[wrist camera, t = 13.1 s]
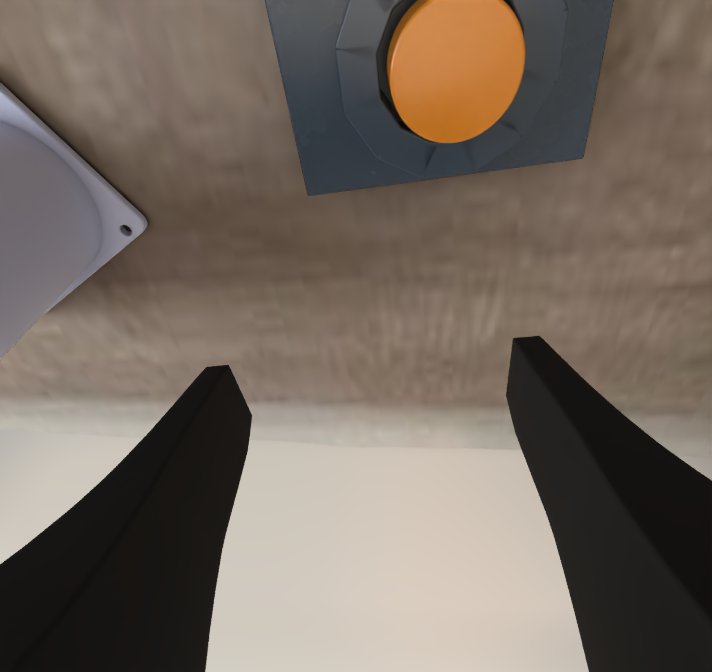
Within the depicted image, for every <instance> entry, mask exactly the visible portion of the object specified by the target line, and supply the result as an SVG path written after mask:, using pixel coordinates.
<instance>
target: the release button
mask: <svg viewBox="0 0 712 672" xmlns="http://www.w3.org/2000/svg"><path fill="white" fill-rule="evenodd" d="M524 66H525V40H524V36H523V31H522V28H521V25H520V23H519V20H518V19H517V17H516V15H515V13H514V12H513V10H512V9H511V8H510V6H509V5H508V4H507V3H506V2H505V1H504V0H418V1H417V2H415V3H414V4H413V5H412V6H411V7H410V8H409V9H408V10H407V12H406V13H405V14H404V16H403V17H402V18H401V20H400V22H399V24H398V25H397V27H396V29H395V31H394V34H393V36H392V39H391V42H390V45H389V50H388V56H387V77H388V84H389V87H390V91H391V95H392V99H393V102H394V105H395V107H396V110H397V112H398V113H399V115H400V117H401V119H402V120H403V121H404V123H405V124H406V125H407V126H408V127H409V128H410V129H411V130H412V131H413V132H415V133H416V134H417V135H419V136H421V137H423V138H425V139H427V140H430V141H433V142H438V143H457V142H462V141H466V140H468V139H471V138H474V137H476V136H478V135H480V134H481V133H483V132H484V131H486V130H487V129H489V128H490V127H491V126H492V125H493V124H495V123H496V122H497V121H498V120H499V119H500V118H501V116H502V115H503V114H504V113H505V111H506V110H507V109H508V107H509V106H510V104H511V103H512V101H513V99H514V97H515V95H516V93H517V91H518V88H519V86H520V83H521V80H522V76H523V72H524Z"/></svg>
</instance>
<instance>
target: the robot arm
mask: <svg viewBox="0 0 712 672" xmlns="http://www.w3.org/2000/svg"><path fill="white" fill-rule="evenodd" d="M123 225H127V226H128V227H130V229H131V230H132V232H130V231H127V230H126V229H125V228H124V226H123ZM146 227H147V220H146V218H145V217H144V216H143V215H142V214H141V213H140V212H139V211H138V210H137V209H136V208H135V207H134V206H133V205H132V204H131V203H130V202H128V201H127V200H126V199H125V198H124V197H123V196H122V195H121V194H120V193H119V192H118V191H117V190H116V189H114V188H113V187H112V186H111V185H110V184H109V183H108V182H107V181H106V180H105V179H104V178H103V177H102V176H100V175H99V174H98V173H97V172H96V171H95V170H94V169H93V168H92V167H91V166H90V165H89V164H88V163H86V162H85V161H84V160H83V159H82V158H81V157H80V156H79V155H78V154H77V153H76V152H75V151H74V150H72V149H71V148H70V147H69V146H68V145H67V144H66V143H65V142H64V141H63V140H62V139H61V138H60V137H58V136H57V135H56V134H55V133H54V132H53V131H52V130H51V129H50V128H49V127H48V126H47V125H46V124H44V123H43V122H42V121H41V120H40V119H39V118H38V117H37V116H36V115H35V114H34V113H33V112H32V111H31V110H29V109H28V108H27V107H26V106H25V105H24V104H23V103H22V102H21V101H20V100H19V99H18V98H17V97H15V96H14V95H13V94H12V93H11V92H10V91H9V90H8V89H7V88H6V87H5V86H4V85H3V84H1V83H0V360H1V359H2V358H3V356H4V355H5V354H6V353H7V352H8V351H9V350H10V349H11V348H12V347H13V346H14V345H15V344H16V343H17V341H18V340H19V339H20V338H21V337H22V336H23V335H24V334H25V333H26V332H27V331H28V330H29V329H30V328H31V327H32V325H33V324H34V323H35V322H36V321H37V320H38V319H39V318H41V317H42V316H43V315H44V314H45V313H47V312H48V311H49V310H50V309H51V308H53V307H54V306H55V305H56V304H57V303H59V302H60V301H61V300H62V299H63V298H65V297H66V296H67V295H68V294H69V293H71V292H72V291H73V290H74V289H75V288H77V287H78V286H79V285H80V284H81V283H83V282H84V281H85V280H86V279H87V278H89V277H90V276H91V275H92V274H93V273H95V272H96V271H97V270H98V269H99V268H101V267H102V266H103V265H104V264H105V263H107V262H108V261H109V260H110V259H111V258H113V257H114V256H115V255H116V254H117V253H119V252H120V251H121V250H122V249H123V248H125V247H126V246H127V245H128V244H129V243H131V242H132V241H133V240H134V239H135V238H137V237H138V236H139V235H140V234H141V233H143V231H144V230H145V229H146ZM506 397H507V401H508V405H509V409H510V414H511V418H512V421H513V425H514V429H515V433H516V436H517V438H518V441H519V444H520V446H521V449H522V452H523V454H524V457H525V459H526V462H527V465H528V467H529V470H530V472H531V475H532V478H533V480H534V483H535V485H536V488H537V491H538V493H539V496H540V498H541V501H542V503H543V506H544V509H545V511H546V514H547V517H548V520H549V523H550V526H551V529H552V532H553V534H554V538H555V542H556V545H557V549H558V552H559V556H560V560H561V563H562V567H563V570H564V574H565V578H566V582H567V585H568V589H569V593H570V597H571V600H572V604H573V608H574V612H575V616H576V620H577V624H578V628H579V632H580V636H581V640H582V645H583V649H584V653H585V657H586V661H587V665H588V669H589V672H712V481H711V480H710V479H708V478H707V477H705V476H704V475H702V474H701V473H700V472H698V471H697V470H695V469H694V468H692V467H691V466H690V465H688V464H687V463H685V462H684V461H683V460H681V459H679V458H678V457H677V456H676V455H674V454H673V453H671V452H670V451H669V450H667V449H666V448H664V447H663V446H662V445H661V444H659V443H658V442H657V441H655V440H654V439H653V438H651V437H650V436H649V435H648V434H646V433H645V432H644V431H643V430H641V429H640V428H639V427H638V426H637V425H635V424H634V423H633V422H632V421H630V420H629V419H628V418H627V417H626V416H624V415H623V414H622V413H621V412H620V411H619V410H617V409H616V408H615V407H614V406H613V405H612V404H610V403H609V402H608V401H607V400H606V399H605V398H604V397H603V396H602V395H600V394H599V393H598V392H597V391H596V390H595V389H594V388H593V387H592V386H591V385H589V384H588V383H587V382H586V381H585V380H584V379H583V378H582V377H581V376H580V375H579V374H578V373H577V372H576V371H575V370H574V369H573V368H572V367H571V366H570V365H569V364H568V363H566V362H565V361H564V360H563V359H562V358H561V357H560V356H559V355H558V354H557V353H556V352H555V351H554V350H553V349H552V348H551V347H550V346H549V345H548V344H547V343H546V342H545V341H544V340H543V339H542V338H541V337H540V336H532V337H521V338H513V344H512V352H511V360H510V368H509V376H508V384H507V392H506ZM251 420H252V414H251V412H250V410H249V408H248V406H247V404H246V401H245V399H244V397H243V395H242V393H241V391H240V388H239V386H238V384H237V382H236V380H235V378H234V375H233V373H232V371H231V369H230V367H229V365H223V366H212V367H206V368H205V369H204V370H203V371H202V372H201V374H200V375H199V376H198V377H197V378H196V379H195V380H194V382H193V383H192V384H191V385H190V386H189V387H188V388H187V390H186V391H185V392H184V393H183V394H182V395H181V397H180V398H179V399H178V400H177V401H176V402H175V404H174V405H173V406H172V407H171V408H170V409H169V410H168V412H167V413H166V414H165V415H164V416H163V417H162V418H161V420H160V421H159V422H158V423H157V424H156V425H155V426H154V427H153V429H152V430H151V431H150V432H149V433H148V434H147V435H146V436H145V437H144V438H143V439H142V440H141V441H140V442H139V443H138V445H137V446H136V447H135V448H134V449H133V450H132V451H131V452H130V453H129V454H128V455H127V456H126V457H125V458H124V459H123V460H122V461H121V462H120V463H119V464H118V466H116V468H114V469H113V470H112V471H111V472H110V473H109V474H108V475H107V476H106V477H105V478H104V479H103V480H102V481H101V482H100V483H99V484H98V485H97V486H96V487H94V488H93V489H92V490H91V491H90V492H89V493H88V494H87V495H86V496H84V497H83V498H82V499H81V500H80V501H79V502H78V503H77V504H75V505H74V506H73V507H72V508H71V509H70V510H68V511H67V512H66V513H65V514H64V515H62V516H61V517H60V518H59V519H58V520H56V521H55V522H54V523H53V524H51V525H50V526H49V527H48V528H46V529H45V530H44V531H43V532H42V533H40V534H39V535H38V536H37V537H35V538H34V539H33V540H32V541H31V542H29V543H28V544H27V545H25V546H24V547H23V548H22V549H20V550H19V551H18V552H16V553H15V554H14V555H12V556H11V557H10V558H8V559H7V560H6V561H4V562H3V563H2V564H0V672H205V668H206V660H207V651H208V642H209V633H210V626H211V618H212V611H213V604H214V597H215V590H216V583H217V578H218V572H219V565H220V559H221V553H222V548H223V544H224V539H225V535H226V531H227V527H228V523H229V520H230V516H231V512H232V508H233V505H234V501H235V497H236V493H237V490H238V486H239V482H240V479H241V475H242V470H243V467H244V463H245V459H246V455H247V451H248V444H249V437H250V429H251Z"/></svg>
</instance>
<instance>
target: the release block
mask: <svg viewBox="0 0 712 672" xmlns="http://www.w3.org/2000/svg"><path fill="white" fill-rule="evenodd" d="M417 1H418V0H265V3H266V8H267V12H268V17H269V21H270V26H271V30H272V35H273V40H274V44H275V49H276V53H277V58H278V62H279V67H280V71H281V76H282V81H283V85H284V90H285V94H286V99H287V103H288V108H289V112H290V117H291V122H292V126H293V131H294V135H295V140H296V144H297V149H298V153H299V158H300V163H301V167H302V172H303V176H304V181H305V185H306V190H307V194H308V196H314V195H321V194H328V193H335V192H343V191H350V190H357V189H365V188H372V187H379V186H387V185H394V184H401V183H408V182H416V181H423V180H430V179H438V178H445V177H452V176H459V175H467V174H474V173H481V172H489V171H496V170H503V169H511V168H518V167H525V166H532V165H540V164H547V163H554V162H562V161H569V160H576V159H582V158H583V157H584V152H585V146H586V141H587V136H588V131H589V126H590V121H591V115H592V110H593V105H594V100H595V95H596V90H597V85H598V79H599V74H600V69H601V64H602V59H603V54H604V48H605V43H606V38H607V33H608V28H609V23H610V18H611V12H612V7H613V2H614V0H504V1H505V2H506V3H507V4H508V5H509V6H510V8H511V9H512V10H513V12H514V13H515V15H516V17H517V19H518V20H519V23H520V25H521V28H522V31H523V36H524V40H525V66H524V72H523V76H522V80H521V83H520V86H519V88H518V91H517V93H516V95H515V97H514V99H513V101H512V103H511V104H510V106H509V107H508V109H507V110H506V111H505V113H504V114H503V115H502V116H501V118H500V119H499V120H498V121H497V122H496V123H495V124H493V125H492V126H491V127H490V128H489V129H487V130H486V131H484V132H483V133H481V134H480V135H478V136H476V137H474V138H471V139H468V140H466V141H462V142H457V143H438V142H433V141H430V140H427V139H425V138H423V137H421V136H419V135H417V134H416V133H415V132H413V131H412V130H411V129H410V128H409V127H408V126H407V125H406V124H405V123H404V121H403V120H402V119H401V117H400V115H399V113H398V112H397V110H396V107H395V105H394V102H393V99H392V95H391V91H390V87H389V84H388V77H387V56H388V50H389V45H390V42H391V39H392V36H393V34H394V31H395V29H396V27H397V25H398V24H399V22H400V20H401V18H402V17H403V16H404V14H405V13H406V12H407V10H408V9H409V8H410V7H411V6H412V5H413V4H414V3H415V2H417Z"/></svg>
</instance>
